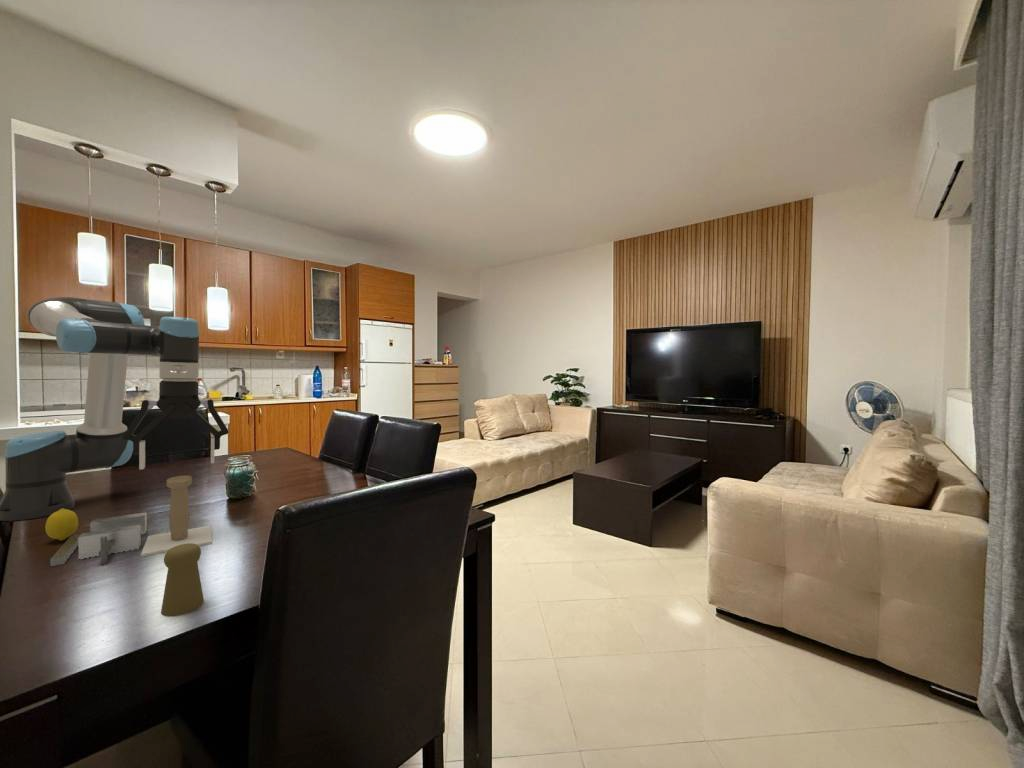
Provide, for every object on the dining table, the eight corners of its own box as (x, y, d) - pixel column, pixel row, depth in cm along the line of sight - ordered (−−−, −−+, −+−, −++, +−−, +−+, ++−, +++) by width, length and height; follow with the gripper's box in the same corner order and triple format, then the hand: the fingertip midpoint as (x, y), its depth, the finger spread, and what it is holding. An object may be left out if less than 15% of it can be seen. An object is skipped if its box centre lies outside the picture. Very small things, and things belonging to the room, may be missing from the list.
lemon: (82, 538, 103) (82, 507, 103) (50, 546, 98) (50, 513, 98) (72, 534, 105) (72, 503, 105) (41, 542, 100) (40, 510, 100)
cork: (177, 598, 77) (177, 539, 76) (211, 597, 77) (211, 539, 77) (151, 617, 70) (151, 553, 70) (189, 615, 71) (188, 553, 71)
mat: (148, 538, 104) (148, 535, 104) (212, 527, 111) (212, 525, 111) (140, 556, 93) (140, 554, 93) (211, 543, 101) (211, 541, 101)
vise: (71, 545, 101) (71, 517, 101) (147, 533, 109) (147, 507, 109) (42, 581, 84) (41, 547, 84) (134, 563, 92) (134, 532, 92)
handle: (165, 545, 98) (165, 483, 98) (167, 536, 103) (167, 477, 103) (191, 540, 101) (191, 480, 100) (192, 531, 106) (192, 474, 106)
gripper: (106, 379, 91) (105, 474, 92) (240, 381, 106) (239, 462, 106) (112, 378, 97) (112, 467, 98) (239, 380, 112) (238, 457, 112)
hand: (178, 465), depth 102 cm, fingers open, 13 cm apart
